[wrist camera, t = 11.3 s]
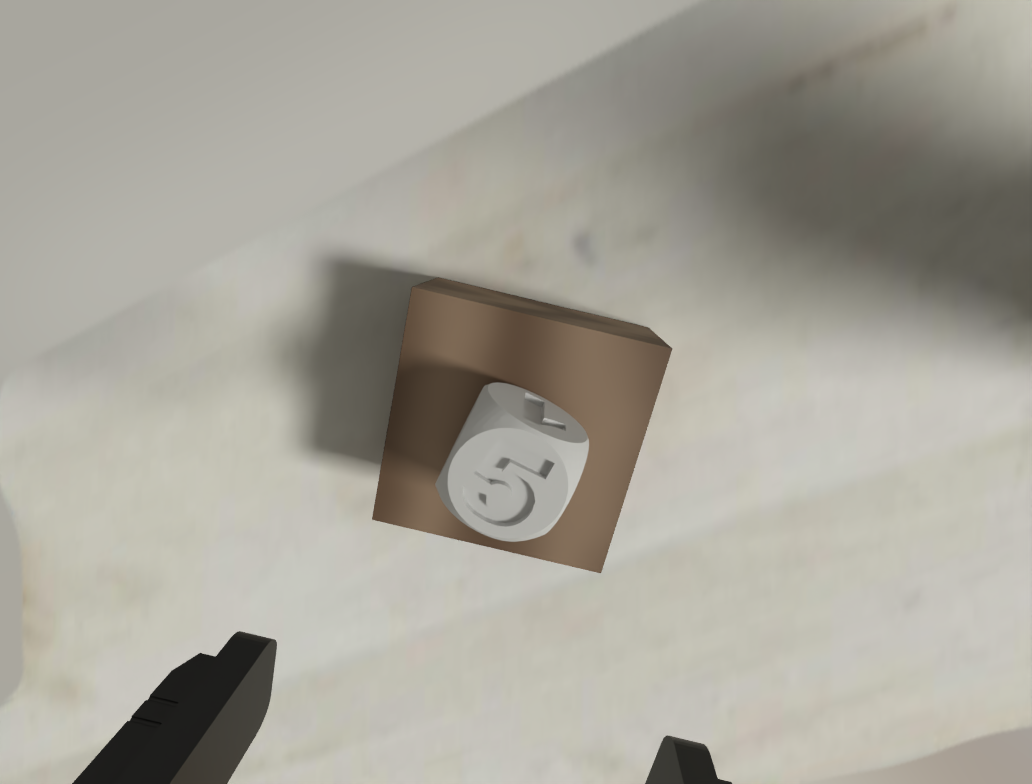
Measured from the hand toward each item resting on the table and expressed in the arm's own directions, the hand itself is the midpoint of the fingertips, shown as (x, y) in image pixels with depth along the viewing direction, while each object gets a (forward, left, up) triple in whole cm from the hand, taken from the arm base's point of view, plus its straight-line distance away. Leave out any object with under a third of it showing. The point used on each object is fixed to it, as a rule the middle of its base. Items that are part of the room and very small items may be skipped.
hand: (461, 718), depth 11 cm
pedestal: (0, 0, -22) cm, 22 cm away
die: (0, 0, -16) cm, 16 cm away
